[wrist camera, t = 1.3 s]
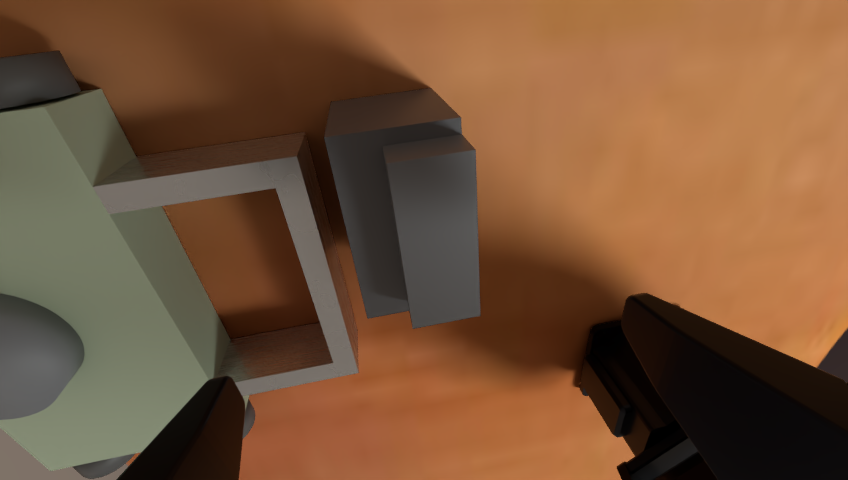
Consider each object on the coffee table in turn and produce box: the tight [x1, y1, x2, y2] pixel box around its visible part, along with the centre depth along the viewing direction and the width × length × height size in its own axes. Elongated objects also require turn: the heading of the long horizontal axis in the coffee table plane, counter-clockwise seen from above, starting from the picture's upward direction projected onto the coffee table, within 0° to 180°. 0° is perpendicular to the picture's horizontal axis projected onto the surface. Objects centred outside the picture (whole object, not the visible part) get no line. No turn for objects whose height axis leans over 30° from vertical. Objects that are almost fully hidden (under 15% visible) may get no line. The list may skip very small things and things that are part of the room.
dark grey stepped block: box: [324, 88, 480, 329], centre depth 14 cm, size 4×7×6 cm, turn 6°
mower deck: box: [0, 51, 255, 479], centre depth 16 cm, size 9×19×4 cm, turn 6°
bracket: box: [93, 132, 359, 396], centre depth 17 cm, size 6×11×3 cm, turn 6°
